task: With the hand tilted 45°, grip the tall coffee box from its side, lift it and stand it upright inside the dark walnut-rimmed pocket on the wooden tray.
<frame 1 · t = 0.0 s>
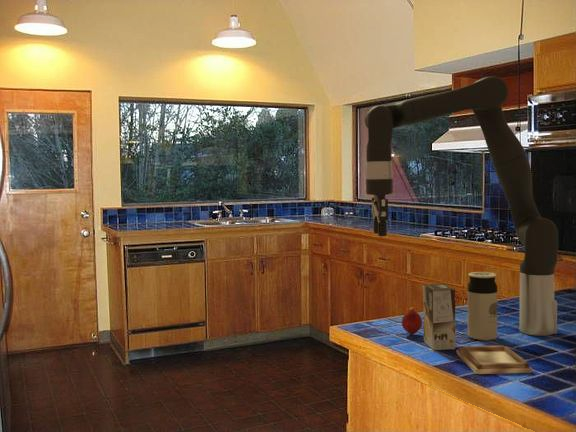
hand: (380, 234, 174), 29 cm above the counter, tool pointing down, fingers open, 8 cm apart
coffee box: (439, 346, 166), on the counter
onion: (412, 335, 177), on the counter
wooden tray: (492, 362, 150), on the counter
travel mug: (482, 337, 173), on the counter
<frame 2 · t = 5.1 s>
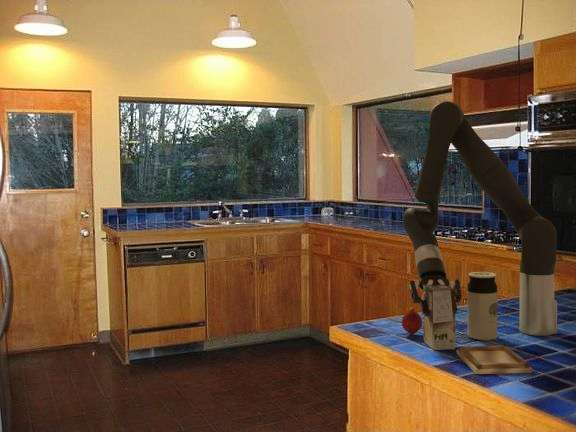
hand: (440, 314, 163), 9 cm above the counter, tool tilted 45°, fingers closed on coffee box, 6 cm apart
coffee box: (439, 345, 166), on the counter, touching gripper
everything else where it was.
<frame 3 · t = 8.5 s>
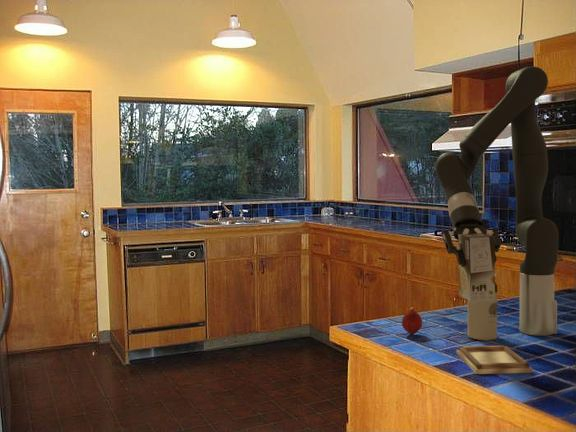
hand: (478, 264, 151), 24 cm above the counter, tool tilted 45°, fingers closed on coffee box, 6 cm apart
coffee box: (476, 299, 153), point 15 cm above the counter, touching gripper
everything else where it was.
when the fingers open (11 cm above the counter, at t = 12.0 s): coffee box drops 1 cm, resting on wooden tray.
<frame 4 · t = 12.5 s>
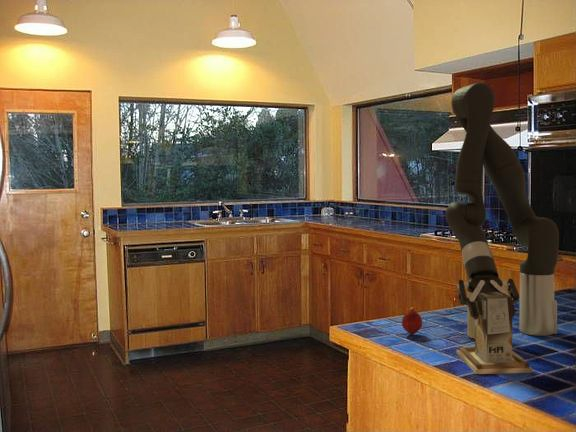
hand: (494, 317, 148), 12 cm above the counter, tool tilted 45°, fingers open, 8 cm apart
coffee box: (492, 359, 150), point 1 cm above the counter, touching wooden tray
everything else where it was.
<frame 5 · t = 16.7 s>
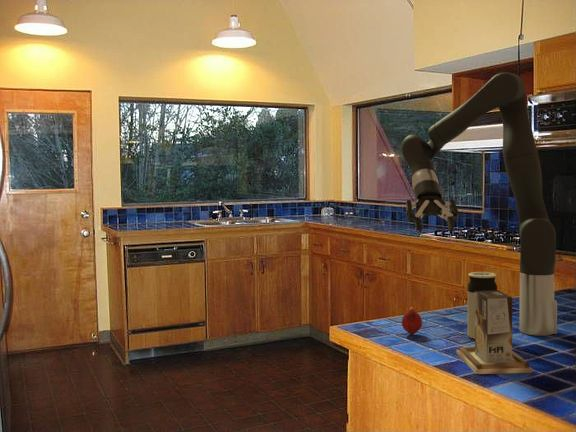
hand: (436, 230, 170), 31 cm above the counter, tool tilted 45°, fingers open, 8 cm apart
nothing on the counter moved.
at the end: coffee box inside the target area on the wooden tray (0.2 cm from its centre), point 0.8 cm above the wooden tray's base; coffee box tilted 0°; the gripper is holding nothing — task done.
